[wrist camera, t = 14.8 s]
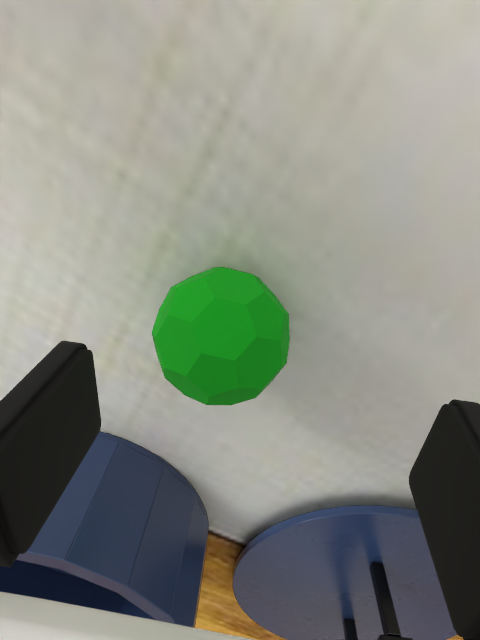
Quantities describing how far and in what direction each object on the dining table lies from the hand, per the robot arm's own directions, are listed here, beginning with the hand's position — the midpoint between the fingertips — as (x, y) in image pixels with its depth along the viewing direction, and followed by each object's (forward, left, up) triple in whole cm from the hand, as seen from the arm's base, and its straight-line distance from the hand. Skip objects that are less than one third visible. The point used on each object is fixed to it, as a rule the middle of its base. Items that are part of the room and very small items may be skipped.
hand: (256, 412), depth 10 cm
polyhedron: (+1, 0, -7) cm, 7 cm away
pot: (+9, +16, -6) cm, 20 cm away
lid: (-9, +19, -6) cm, 22 cm away
